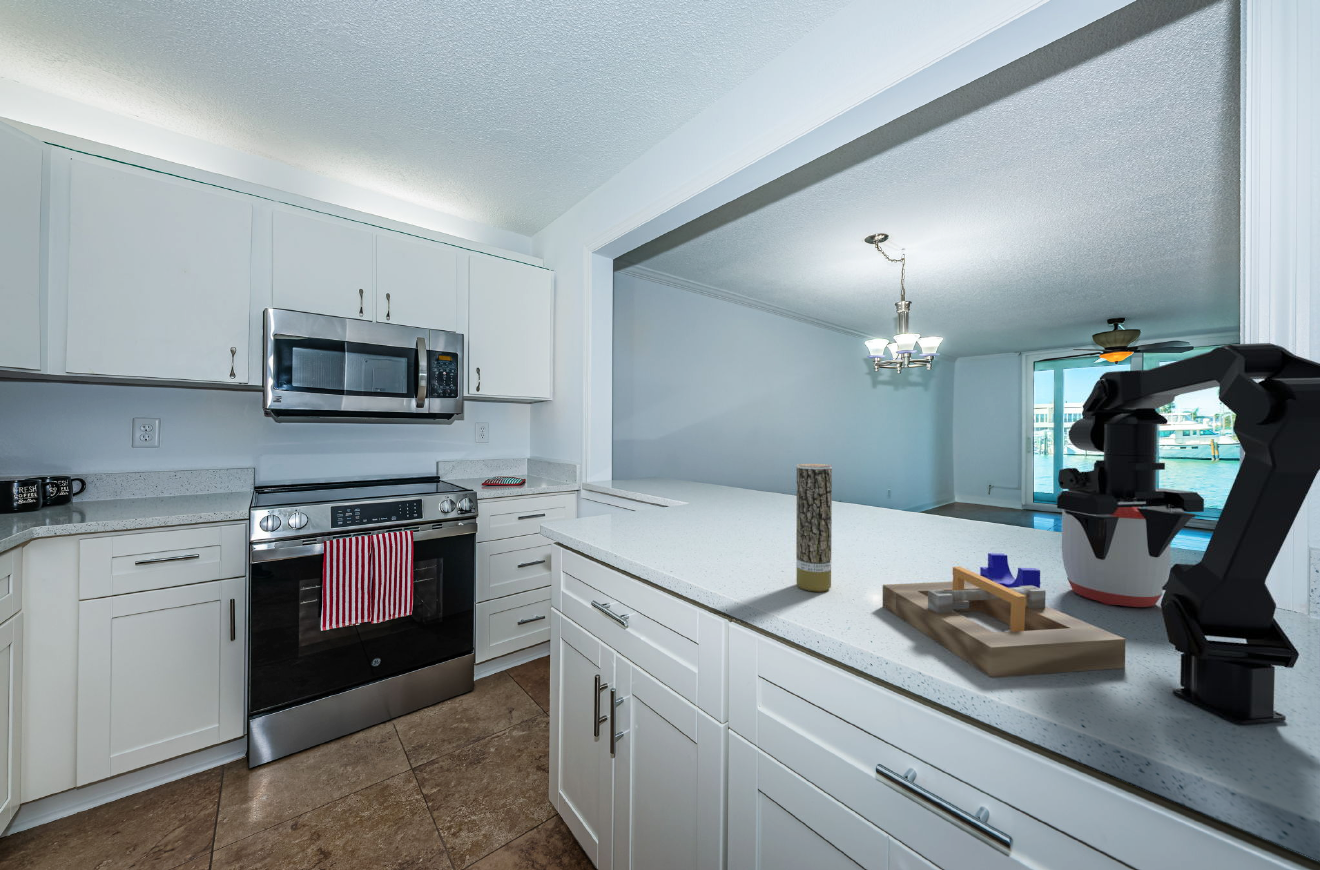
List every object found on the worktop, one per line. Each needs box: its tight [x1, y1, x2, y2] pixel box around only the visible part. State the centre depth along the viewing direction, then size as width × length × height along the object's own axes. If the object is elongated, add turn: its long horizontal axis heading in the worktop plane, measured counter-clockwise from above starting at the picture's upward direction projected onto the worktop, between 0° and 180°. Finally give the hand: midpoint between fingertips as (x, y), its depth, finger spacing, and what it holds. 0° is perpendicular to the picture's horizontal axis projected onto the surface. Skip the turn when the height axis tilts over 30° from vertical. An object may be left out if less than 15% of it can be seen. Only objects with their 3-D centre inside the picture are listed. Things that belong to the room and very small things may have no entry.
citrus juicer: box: [1061, 507, 1172, 608], centre depth 93 cm, size 16×17×20 cm
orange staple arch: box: [952, 566, 1026, 632], centre depth 78 cm, size 14×3×7 cm, turn 7°
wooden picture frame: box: [882, 581, 1126, 678], centre depth 77 cm, size 25×20×7 cm
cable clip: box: [979, 552, 1041, 589], centre depth 97 cm, size 12×4×6 cm, turn 173°
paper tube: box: [795, 463, 833, 593], centre depth 99 cm, size 7×7×25 cm
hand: (1127, 557), depth 73 cm, fingers open, 9 cm apart
